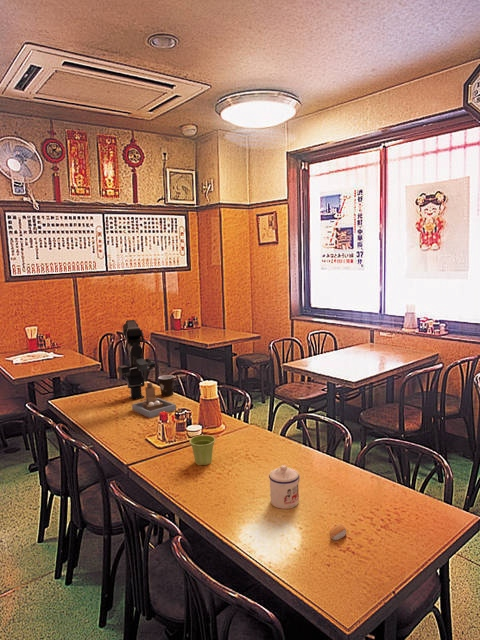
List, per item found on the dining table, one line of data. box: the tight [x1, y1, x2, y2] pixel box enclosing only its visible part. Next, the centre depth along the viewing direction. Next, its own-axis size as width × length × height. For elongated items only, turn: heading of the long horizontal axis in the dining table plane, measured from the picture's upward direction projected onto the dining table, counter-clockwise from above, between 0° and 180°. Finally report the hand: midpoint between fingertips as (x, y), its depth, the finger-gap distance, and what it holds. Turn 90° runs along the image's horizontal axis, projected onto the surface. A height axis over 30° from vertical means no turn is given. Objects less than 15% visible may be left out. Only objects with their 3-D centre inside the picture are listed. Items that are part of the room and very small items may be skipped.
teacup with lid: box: [268, 464, 301, 510], centre depth 149 cm, size 12×9×12 cm
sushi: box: [329, 524, 347, 541], centre depth 130 cm, size 3×6×3 cm, turn 130°
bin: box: [131, 397, 177, 419], centre depth 241 cm, size 17×15×3 cm
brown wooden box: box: [141, 382, 163, 411], centre depth 242 cm, size 9×8×12 cm
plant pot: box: [189, 434, 216, 466], centre depth 179 cm, size 9×9×9 cm
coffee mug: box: [157, 374, 178, 397], centre depth 265 cm, size 12×9×10 cm
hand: (137, 383), depth 244 cm, fingers open, 9 cm apart
